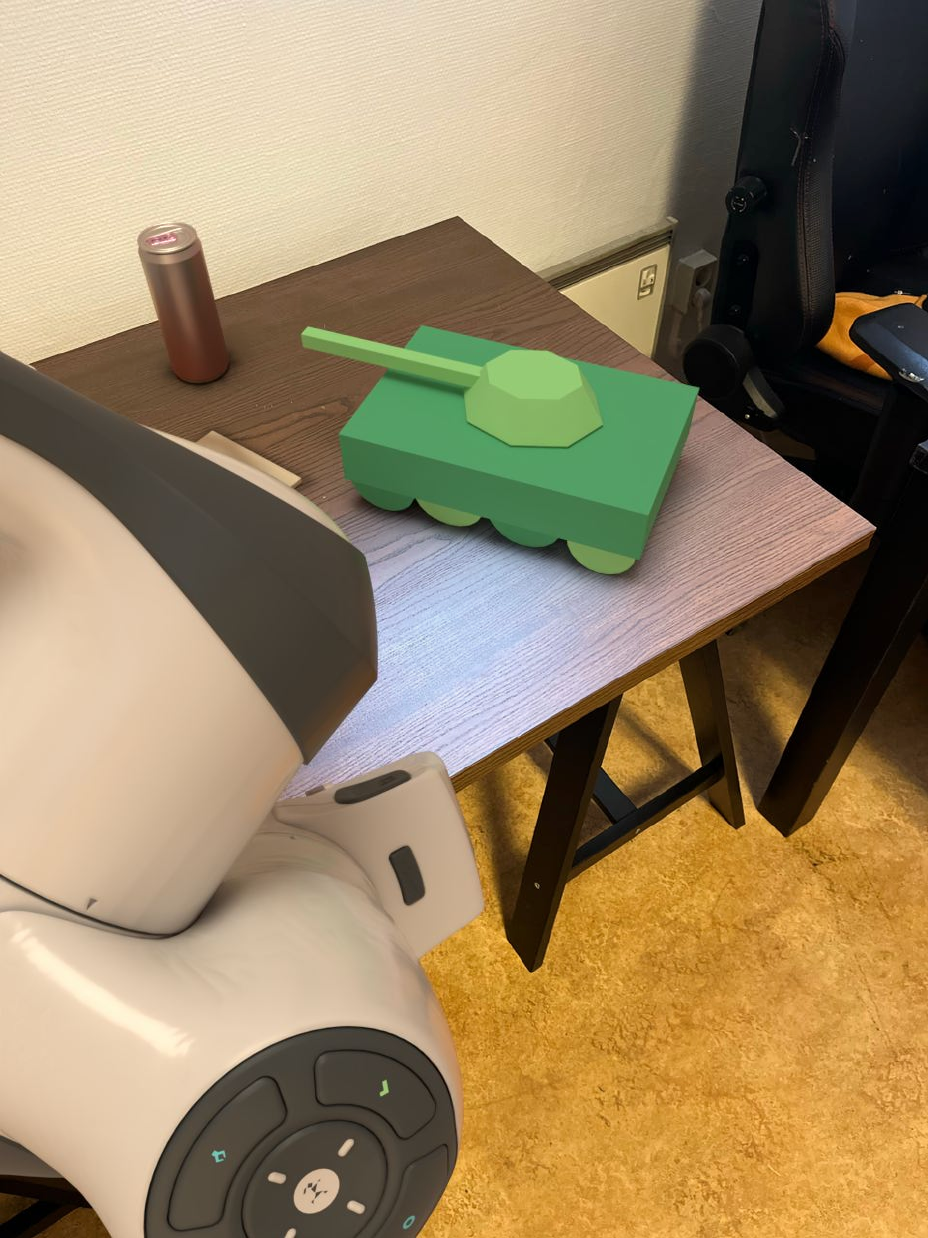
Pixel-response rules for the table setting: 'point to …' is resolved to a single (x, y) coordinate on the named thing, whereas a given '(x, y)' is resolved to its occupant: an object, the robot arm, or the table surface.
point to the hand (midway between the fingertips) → (235, 836)
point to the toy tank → (515, 441)
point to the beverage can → (183, 300)
